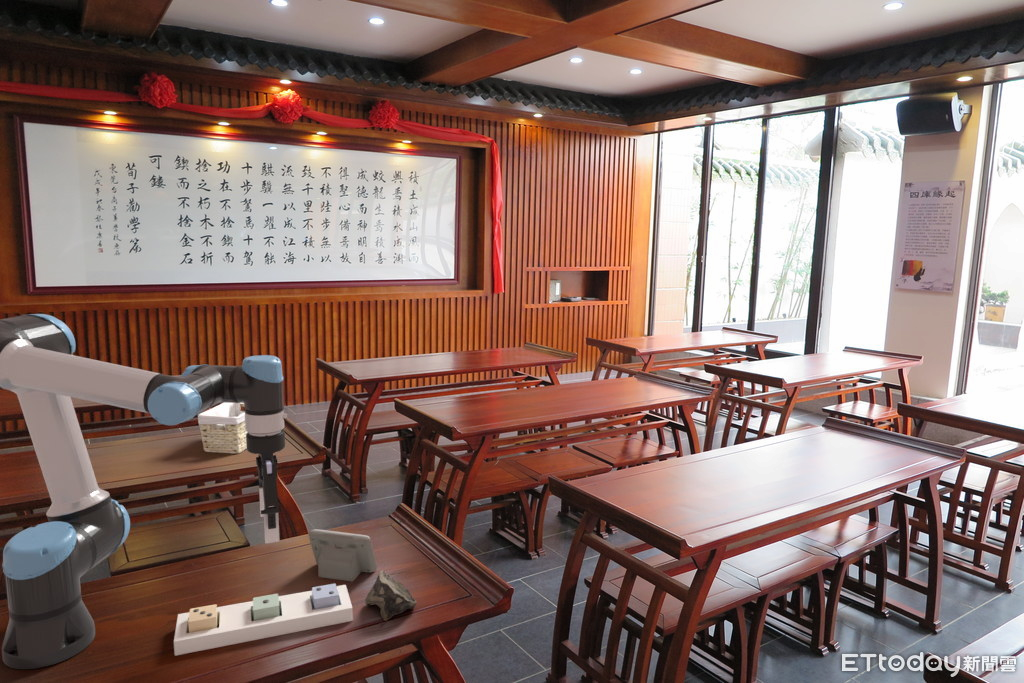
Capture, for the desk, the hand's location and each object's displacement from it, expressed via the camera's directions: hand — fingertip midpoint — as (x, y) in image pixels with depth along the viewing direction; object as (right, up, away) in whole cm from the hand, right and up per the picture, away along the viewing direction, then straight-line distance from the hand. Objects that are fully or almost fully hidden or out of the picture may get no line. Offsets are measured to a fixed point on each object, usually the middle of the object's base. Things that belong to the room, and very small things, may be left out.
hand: (269, 528), depth 141 cm
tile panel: (0, -20, 0) cm, 20 cm away
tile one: (0, -19, -1) cm, 19 cm away
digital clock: (+10, -17, +22) cm, 29 cm away
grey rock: (+25, -20, +7) cm, 32 cm away
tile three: (-12, -19, -5) cm, 23 cm away
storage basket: (-55, 0, +115) cm, 127 cm away
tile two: (+11, -18, +4) cm, 21 cm away
